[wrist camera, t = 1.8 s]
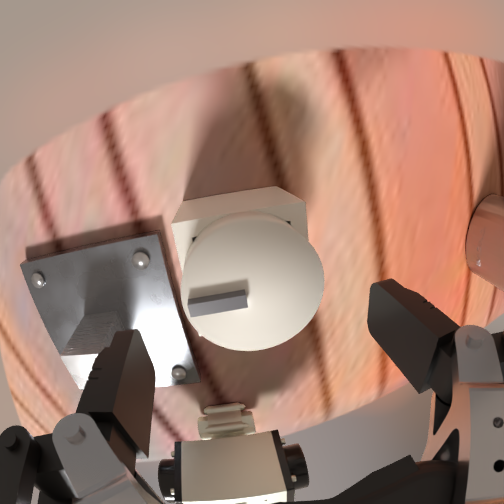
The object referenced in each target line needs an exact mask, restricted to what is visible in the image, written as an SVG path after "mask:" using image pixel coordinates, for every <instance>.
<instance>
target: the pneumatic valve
mask: <svg viewBox="0 0 504 504" xmlns="http://www.w3.org/2000/svg"><path fill="white" fill-rule="evenodd" d="M244 408H245V405H243V404H239V402H238V403H231V404H223V405H215V406H207V408H204V413H205V414H207V416H204V417H199V418H198V430H199V434H200V437H201V438H202V439H203V440H198V441H181V442H175V451H172V452H171V456H172V457H174V459H162V460H161V461H160V463H159V468H158V481H159V486H160V490H161V493H162V495H163V497H164V499H165V500H166V501H167V502H169V503H176V504H271V503H276V502H294V496H295V490H296V489H301V488H304V487H308V485H309V475H308V469H307V465H306V461H305V457H304V454H303V452H302V449H301V447H300V445H299V444H292V445H288V446H282V445H283V444H285V439H284V438H283V439H280V436H279V432H278V430H273V431H268V432H262V433H256V434H254V433H255V432H256V430H255V425H254V419H253V414H252V412H251V411H245V412H241V410H244ZM249 434H250V435H249ZM207 439H210V440H207Z"/></svg>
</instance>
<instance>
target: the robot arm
mask: <svg viewBox="0 0 504 504" xmlns="http://www.w3.org/2000/svg"><path fill="white" fill-rule="evenodd" d="M466 259H467V263H468V266H469V268H470V270H471V271H472V272H473V273H475V274H477V275H478V276H480V277H481V278H483V279H485V280H486V281H488V282H490V283H491V284H493V285H494V286H496V287H497V288H499V289H500V290H502V291H503V292H504V197H503V196H499V195H496V194H491V195H489V196H487V197H486V198H485V199H484V200H482V202H481V203H480V204H479V206H478V207H477V209H476V211H475V213H474V215H473V218H472V220H471V223H470V227H469V230H468V235H467V241H466ZM367 323H368V329H369V332H370V334H371V335H372V337H373V338H374V339H375V340H376V341H377V343H378V344H379V345H380V346H381V347H382V349H383V350H384V351H385V352H386V354H387V355H388V356H389V357H390V358H391V360H392V361H393V362H394V363H395V364H396V366H397V367H398V368H399V369H400V371H401V372H402V373H403V374H404V376H405V377H406V378H407V379H408V380H409V382H410V383H411V384H412V385H413V387H414V388H415V389H416V390H417V392H418V393H419V394H420V393H422V392H424V391H426V390H428V389H430V388H432V389H433V391H434V392H433V395H432V399H431V414H430V424H429V433H428V441H427V445H426V448H425V451H424V453H423V455H422V458H421V461H420V462H414V460H413V458H412V457H411V455H408V456H406V457H404V458H402V459H400V460H398V461H396V462H394V463H392V464H390V465H388V466H386V467H383V468H381V469H379V470H377V471H374V472H372V473H371V474H369V475H368V476H366V477H365V478H363V479H362V480H360V481H359V482H358V483H356V484H354V485H353V486H351V487H350V488H348V489H347V490H345V491H344V492H342V493H340V494H339V495H337V496H335V497H333V498H330V499H325V500H314V501H297V502H276V503H271V504H504V331H503V332H499V333H495V334H490V333H489V332H488V331H487V330H485V329H484V328H482V327H479V326H475V325H466V326H463V327H460V326H458V325H457V324H456V323H455V322H454V321H452V320H451V319H450V318H449V317H448V316H446V315H445V314H444V313H443V312H441V311H440V310H439V309H438V308H435V306H434V305H433V304H431V303H430V302H427V300H426V299H425V298H424V297H422V296H421V295H420V294H419V293H417V292H414V291H412V290H409V289H407V288H404V287H403V286H402V285H400V284H399V283H398V282H396V281H395V280H394V279H387V280H383V281H380V282H376V283H373V284H372V285H371V287H370V296H369V308H368V318H367ZM91 369H92V371H90V374H89V376H88V380H87V382H86V384H85V387H84V390H83V393H82V395H81V398H80V401H79V404H78V407H77V410H76V413H74V414H70V415H68V416H66V417H64V418H63V419H61V420H60V421H59V422H58V423H57V425H56V426H55V428H54V430H53V433H51V434H46V435H41V436H36V437H33V436H32V435H31V434H30V433H29V432H28V431H27V430H26V429H25V428H24V427H22V426H11V427H9V428H7V429H6V430H4V431H3V433H2V434H1V435H0V504H31V499H32V493H33V487H34V486H35V487H36V488H37V489H39V490H40V493H39V499H38V504H165V503H164V502H163V501H162V500H161V498H160V497H159V496H158V495H157V494H156V493H155V492H154V491H153V489H152V488H151V487H150V486H149V485H148V483H147V482H146V481H145V480H144V479H143V477H142V476H141V475H140V474H139V472H138V471H137V470H136V469H135V463H136V459H148V457H149V443H150V431H151V421H152V411H153V402H154V393H155V385H156V372H155V368H154V364H153V362H152V359H151V357H150V355H149V352H148V350H147V347H146V345H145V343H144V340H143V338H142V335H141V333H140V331H139V330H138V329H131V330H123V331H117V332H115V334H114V337H113V339H112V342H111V345H110V347H105V348H104V349H103V350H102V351H101V352H100V353H99V354H98V356H97V357H96V358H95V361H94V363H93V366H92V368H91Z"/></svg>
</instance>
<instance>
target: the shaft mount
mask: <svg viewBox="0 0 504 504" xmlns="http://www.w3.org/2000/svg"><path fill="white" fill-rule="evenodd" d="M20 266H21V269H22V272H23V275H24V278H25V280H26V283H27V285H28V288H29V290H30V293H31V295H32V298H33V300H34V303H35V305H36V307H37V309H38V312H39V314H40V316H41V318H42V320H43V323H44V325H45V327H46V329H47V331H48V333H49V335H50V337H51V339H52V341H53V343H54V345H55V346H56V348H57V350H58V352H59V354H60V357H61V359H62V360H63V362H64V364H65V366H66V367H67V369H68V371H69V372H70V374H71V376H72V377H73V379H74V380H75V382H76V384H77V385H78V387H79V388H80V389H81V390H84V387H85V384H86V382H87V380H88V376H89V374H90V371H92V369H91V368H92V366H93V363H94V361H95V358H96V357H97V356H98V354H99V353H100V352H101V351H102V350H103V349H104V348H105V347H110V345H111V342H112V339H113V337H114V334H115V332H117V331H123V330H131V329H138V330H139V331H140V333H141V335H142V338H143V340H144V343H145V345H146V347H147V350H148V352H149V355H150V357H151V359H152V362H153V364H154V368H155V372H156V385H155V387H161V386H171V385H181V384H189V383H197V382H201V374H200V371H199V368H198V365H197V362H196V359H195V356H194V353H193V350H192V347H191V344H190V341H189V338H188V334H187V331H186V328H185V325H184V321H183V318H182V315H181V311H180V308H179V304H178V301H177V297H176V294H175V290H174V286H173V282H172V279H171V275H170V271H169V267H168V263H167V259H166V255H165V251H164V247H163V243H162V238H161V234H160V230H157V231H152V232H147V233H142V234H137V235H132V236H127V237H122V238H118V239H113V240H108V241H104V242H99V243H95V244H90V245H86V246H81V247H77V248H72V249H68V250H64V251H60V252H55V253H51V254H47V255H43V256H39V257H35V258H31V259H27V260H25V261H24V262H22V263H21V264H20Z"/></svg>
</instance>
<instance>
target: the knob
mask: <svg viewBox="0 0 504 504" xmlns="http://www.w3.org/2000/svg"><path fill="white" fill-rule="evenodd" d="M171 225H172V230H173V235H174V239H175V244H176V248H177V253H178V257H179V261H180V265H181V269H182V274H183V275H182V281H181V300H182V305H183V309H184V311H185V314H186V316H187V318H188V320H189V322H190V323H191V324H192V326H193V327H194V328H195V329H196V330H197V331H198V334H199V336H203V337H205V338H206V339H207V340H209V341H211V342H213V343H214V344H217V345H219V346H221V347H225V348H228V349H232V350H238V351H256V350H263V349H267V348H271V347H274V346H276V345H279V344H281V343H283V342H285V341H287V340H289V339H290V338H292V337H293V336H295V335H296V334H297V333H299V332H300V331H301V330H302V329H303V328H304V327H305V326H306V325H307V324H308V323H309V322H310V320H311V319H312V318H313V316H314V314H315V313H316V311H317V309H318V307H319V305H320V302H321V299H322V296H323V291H324V271H323V267H322V263H321V261H320V258H319V256H318V254H317V253H316V251H315V249H314V248H313V247H312V245H311V244H310V243H309V242H308V228H307V215H306V203H305V201H303V200H301V199H300V198H298V197H296V196H294V195H292V194H290V193H289V192H287V191H285V190H283V189H281V188H279V187H277V186H272V187H265V188H258V189H251V190H245V191H239V192H232V193H226V194H220V195H214V196H209V197H203V198H197V199H192V200H187V201H182V203H181V205H180V207H179V209H178V211H177V213H176V215H175V217H174V219H173V221H172V223H171Z"/></svg>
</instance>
